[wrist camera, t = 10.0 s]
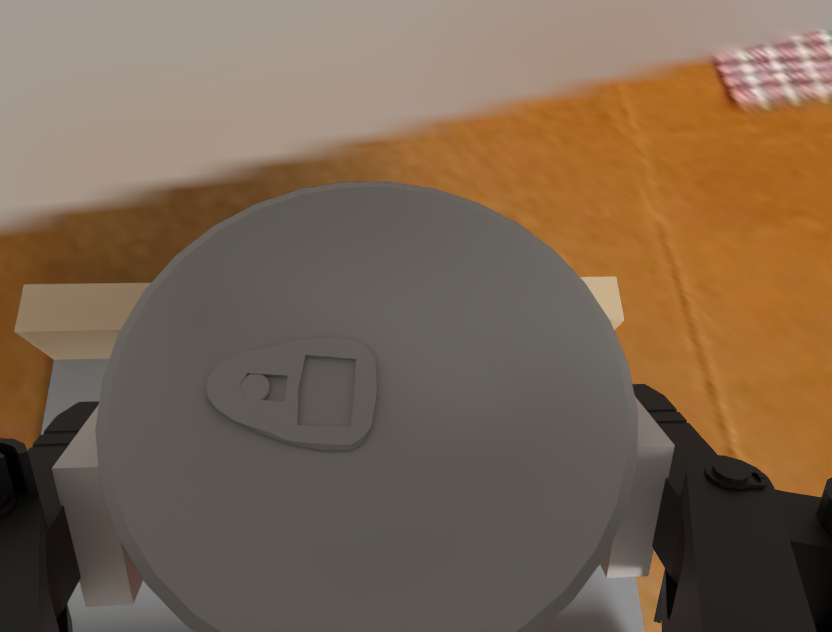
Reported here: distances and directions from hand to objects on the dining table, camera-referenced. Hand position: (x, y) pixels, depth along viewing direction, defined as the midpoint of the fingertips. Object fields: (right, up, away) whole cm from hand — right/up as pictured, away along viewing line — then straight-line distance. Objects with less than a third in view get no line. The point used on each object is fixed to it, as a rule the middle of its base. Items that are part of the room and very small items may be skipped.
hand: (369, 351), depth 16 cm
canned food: (0, -5, +3) cm, 6 cm away
